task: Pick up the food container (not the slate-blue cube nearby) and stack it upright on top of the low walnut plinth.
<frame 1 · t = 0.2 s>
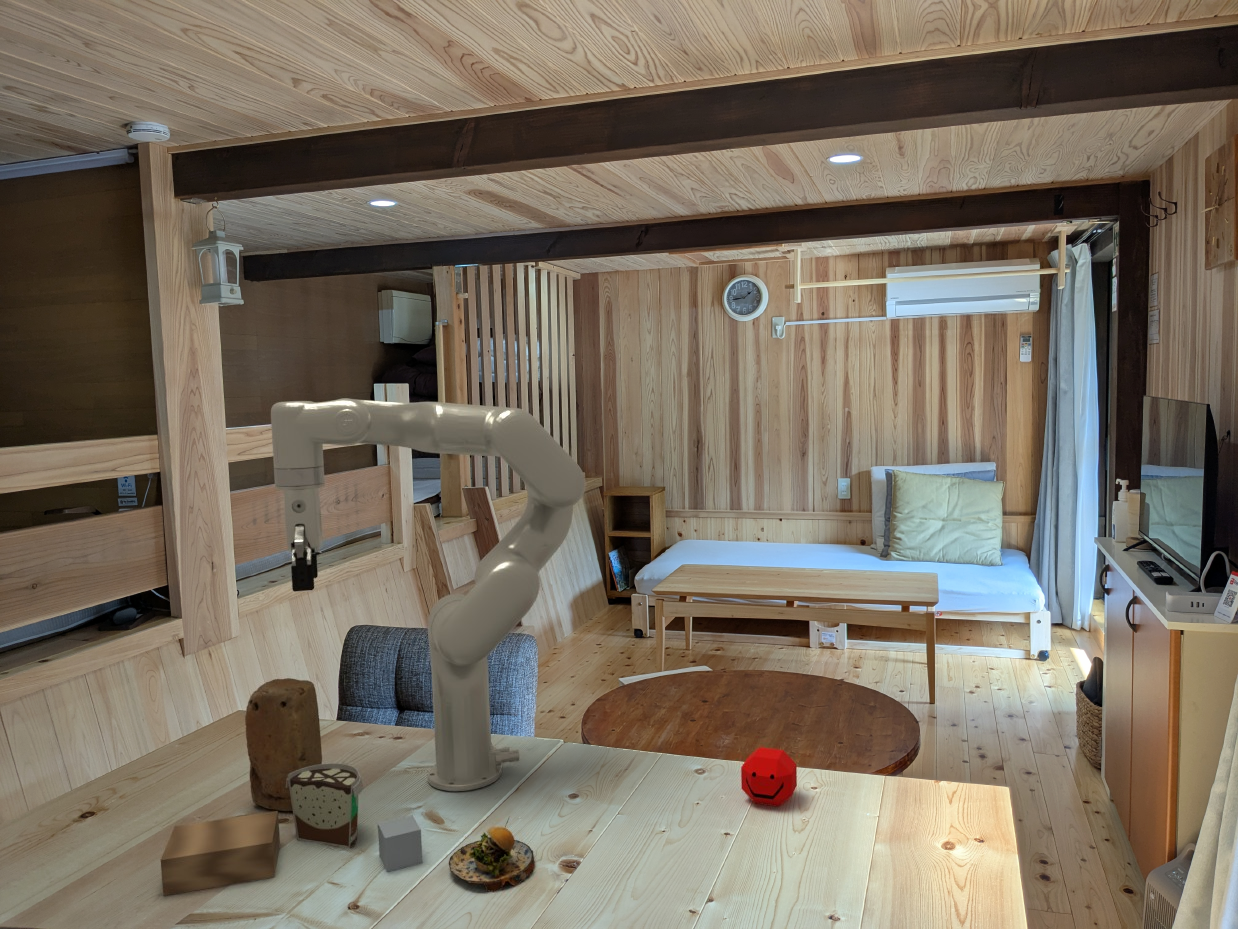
hand: (305, 584, 146), 36 cm above the table, tool pointing down, fingers open, 9 cm apart
food container: (336, 835, 137), on the table
ball: (769, 801, 144), on the table
burger: (492, 872, 126), on the table
plinth: (224, 868, 129), on the table
brown lumpy post: (286, 804, 149), on the table
slate cube: (400, 860, 129), on the table
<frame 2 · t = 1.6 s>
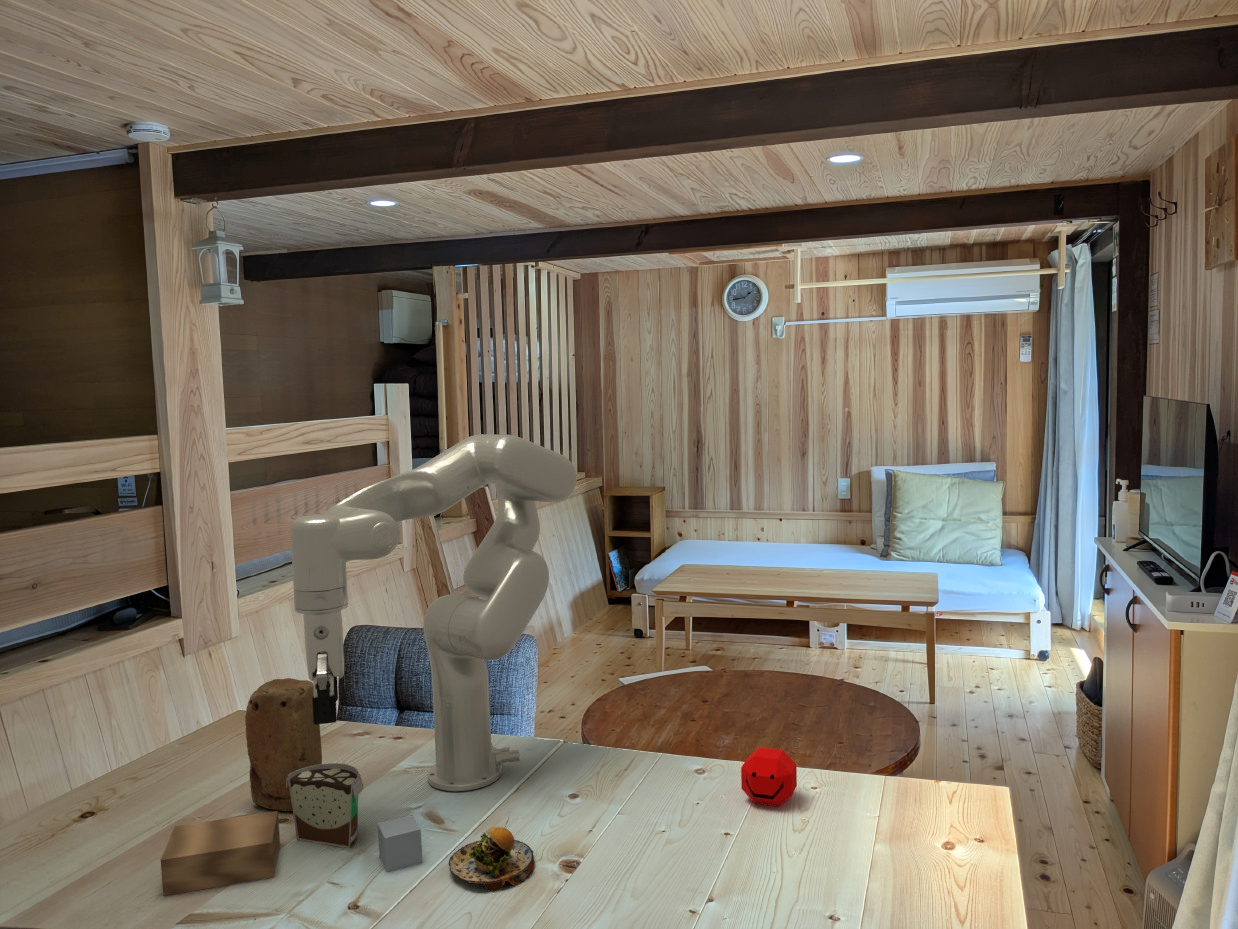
hand: (326, 712, 136), 19 cm above the table, tool pointing down, fingers open, 9 cm apart
nothing on the table moved.
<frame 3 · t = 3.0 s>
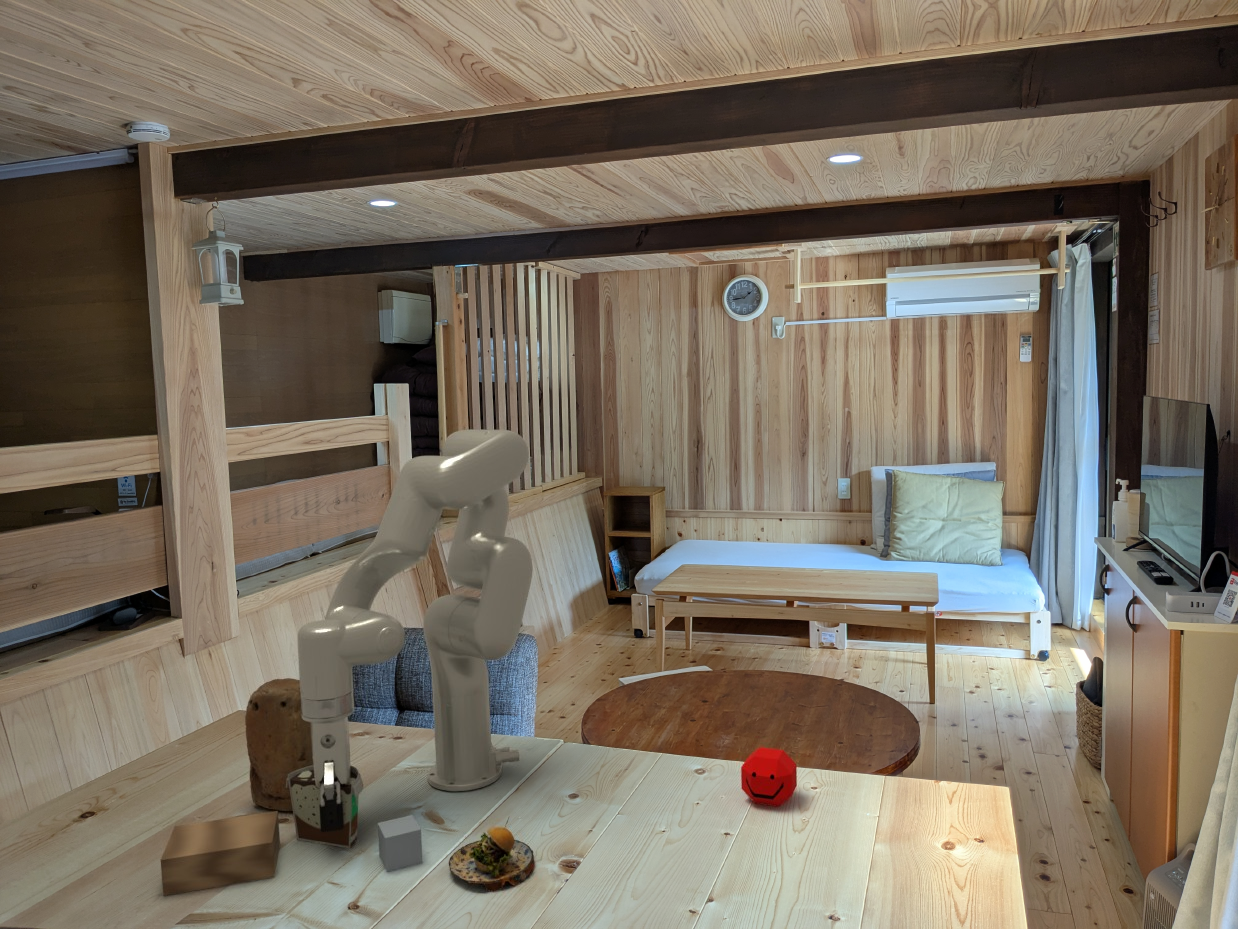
hand: (333, 815, 137), 3 cm above the table, tool pointing down, fingers open, 9 cm apart
food container: (336, 835, 137), on the table, touching gripper
everything else where it was.
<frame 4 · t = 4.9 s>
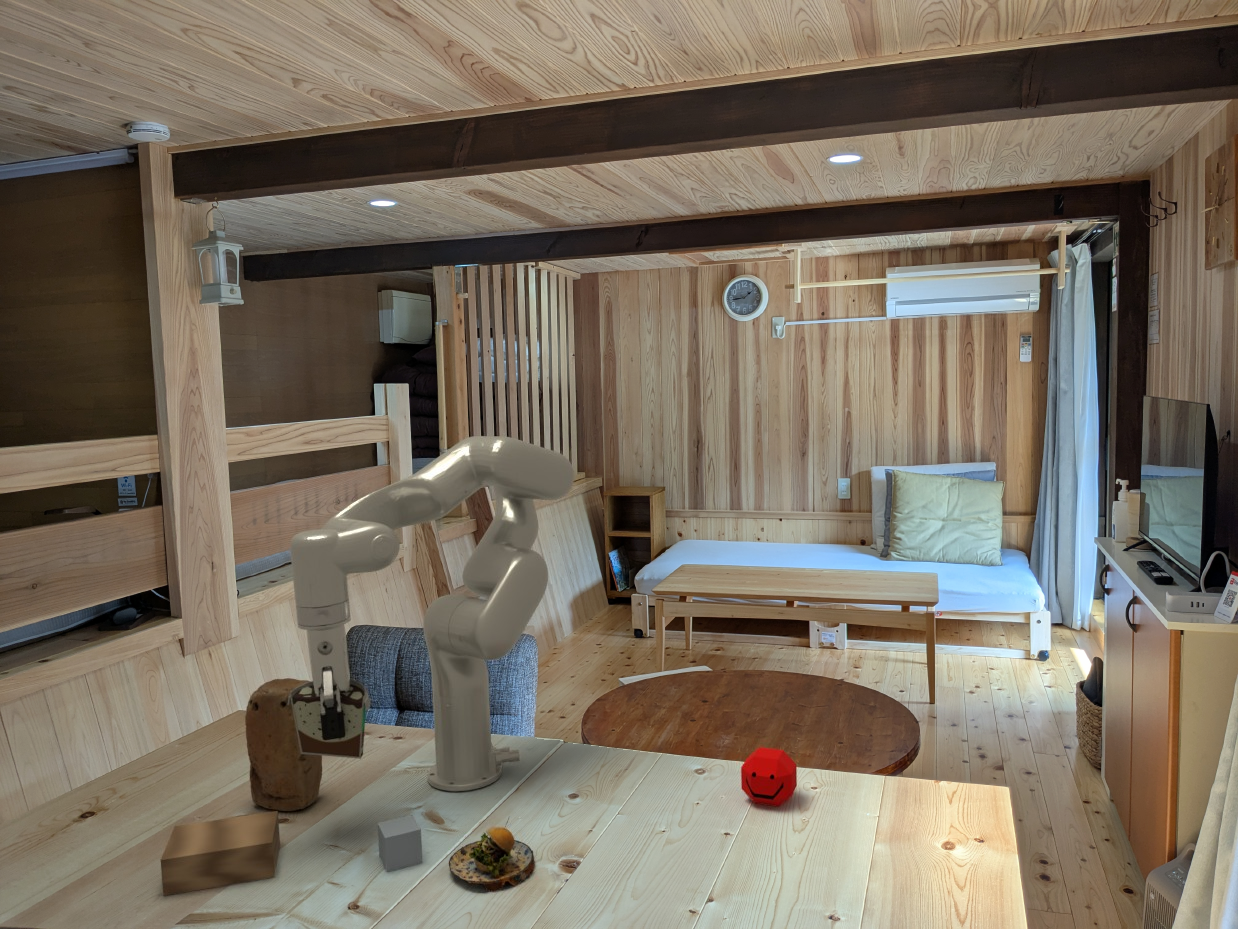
hand: (334, 728, 137), 16 cm above the table, tool pointing down, fingers closed on food container, 6 cm apart
food container: (339, 746, 139), point 13 cm above the table, touching gripper
everything else where it was.
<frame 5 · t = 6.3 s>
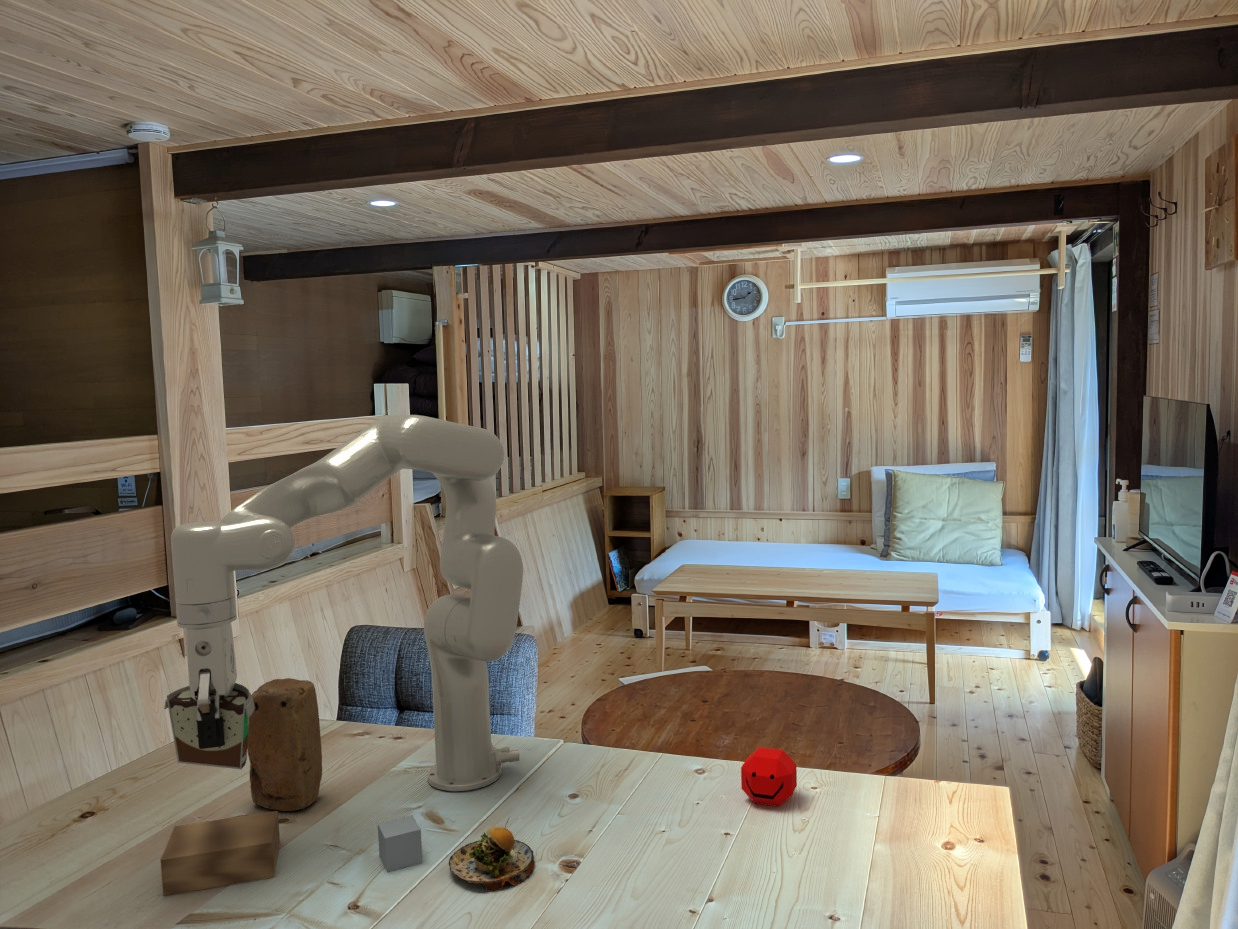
hand: (215, 736, 127), 19 cm above the table, tool pointing down, fingers closed on food container, 6 cm apart
food container: (221, 756, 129), point 16 cm above the table, touching gripper
everything else where it was.
when the fingers open (9 cm above the table, at t = 8.7 s): food container stays where it is, resting on plinth.
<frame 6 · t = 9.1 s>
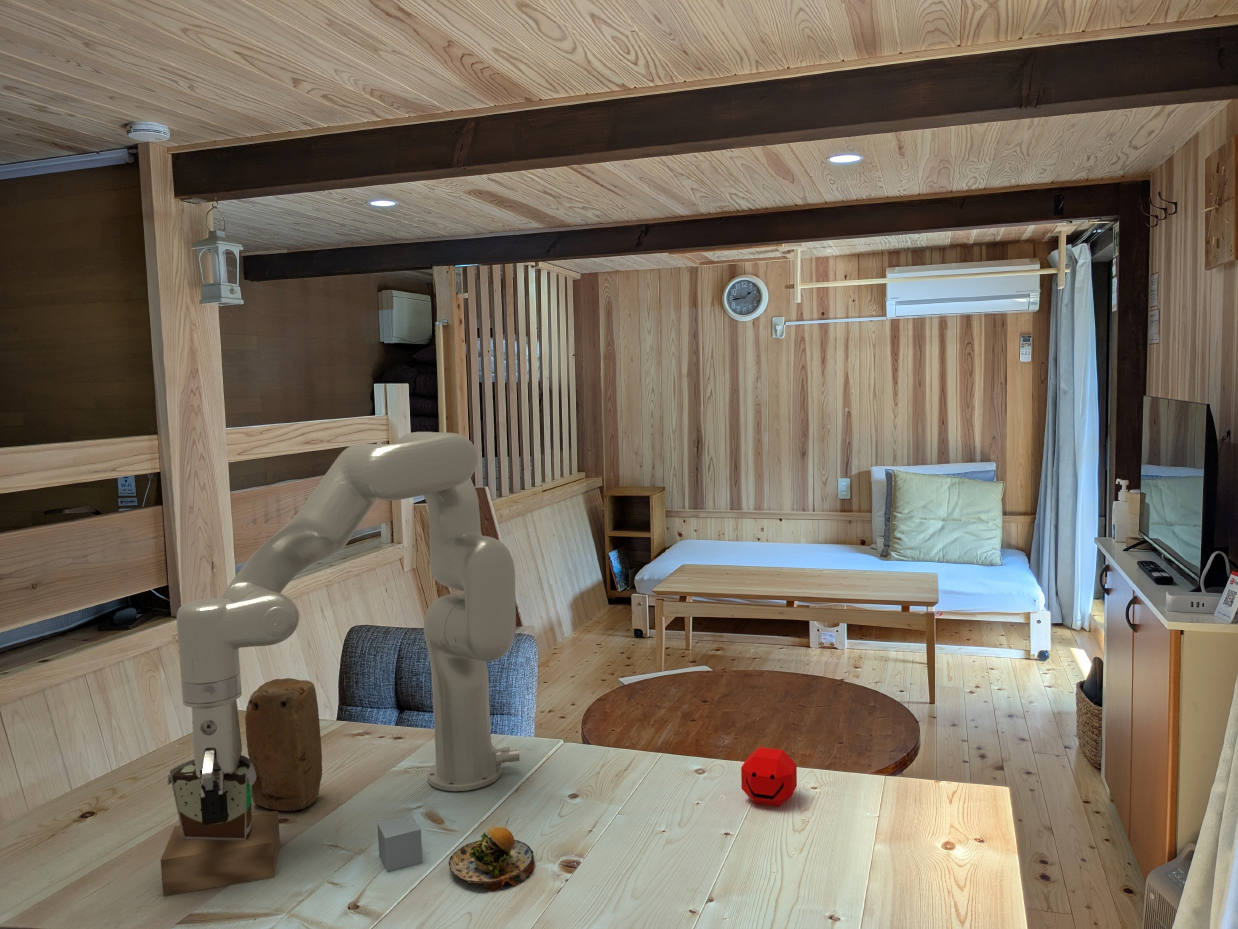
hand: (220, 807, 128), 9 cm above the table, tool pointing down, fingers open, 9 cm apart
food container: (226, 829, 130), point 5 cm above the table, touching plinth
everything else where it was.
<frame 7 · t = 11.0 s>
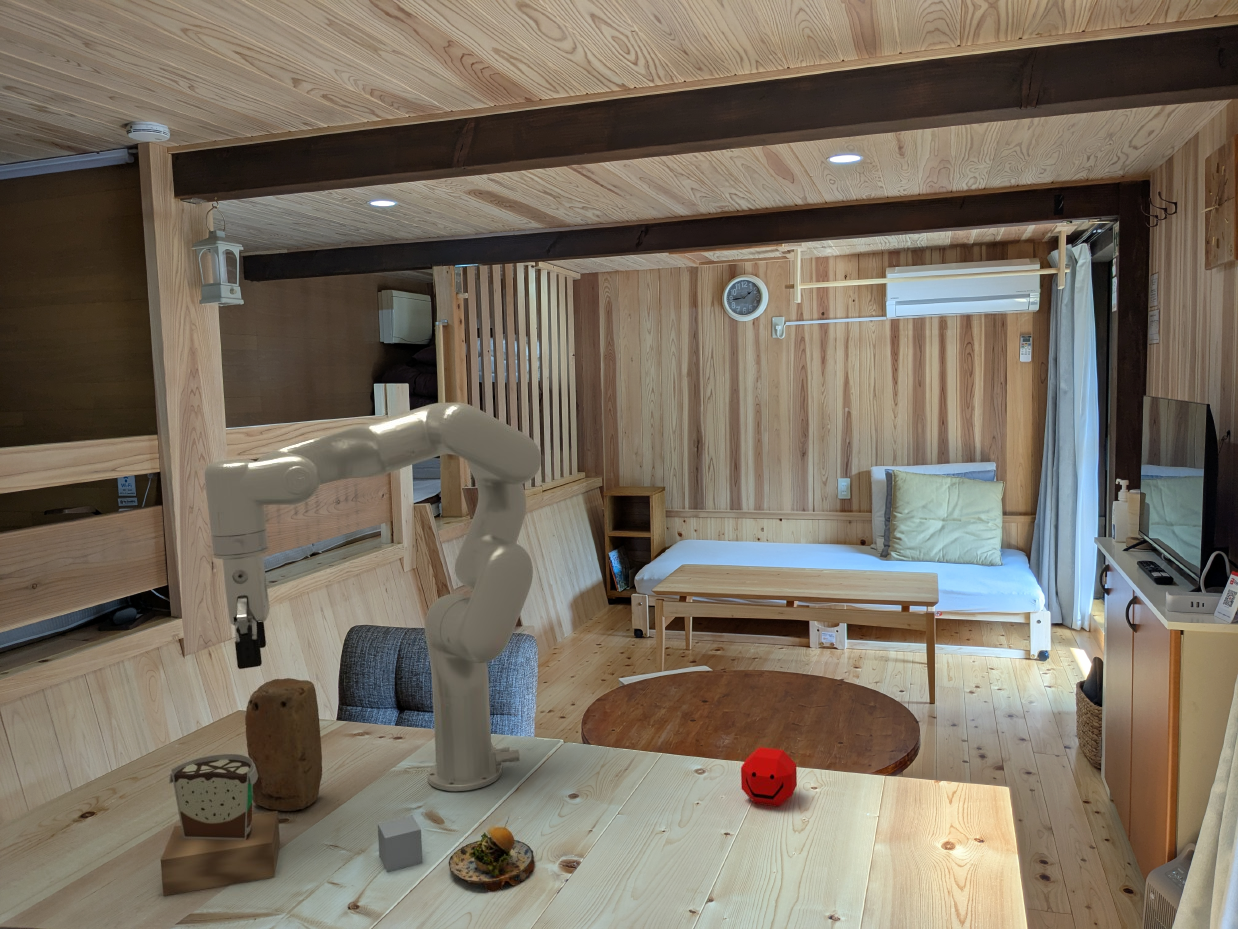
hand: (252, 657, 135), 28 cm above the table, tool pointing down, fingers open, 9 cm apart
nothing on the table moved.
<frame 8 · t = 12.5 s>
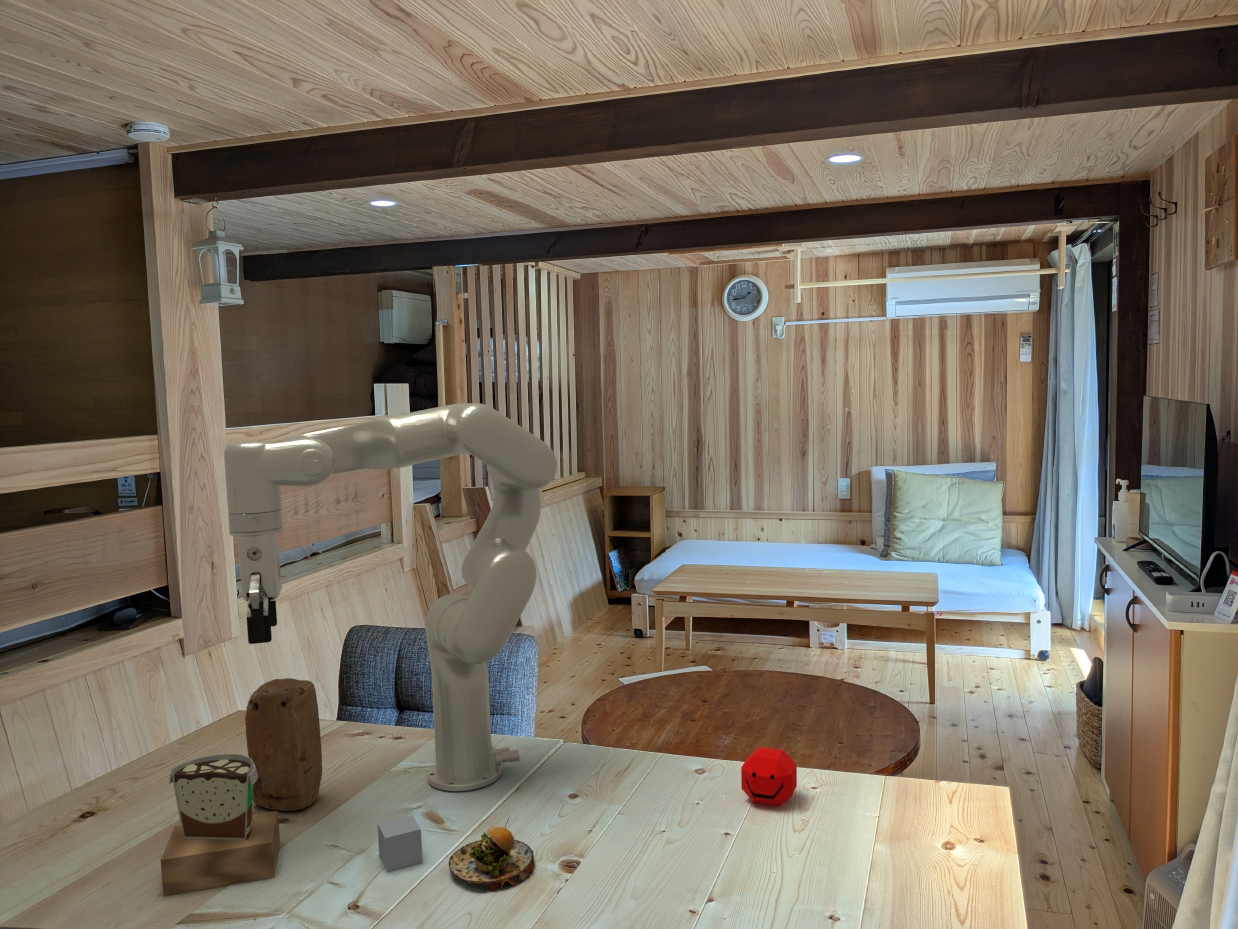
hand: (263, 634, 138), 30 cm above the table, tool pointing down, fingers open, 9 cm apart
nothing on the table moved.
at the end: food container inside the target area on the plinth (1.6 cm from its centre), point 4.8 cm above the plinth's base; food container tilted 0°; the gripper is holding nothing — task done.
